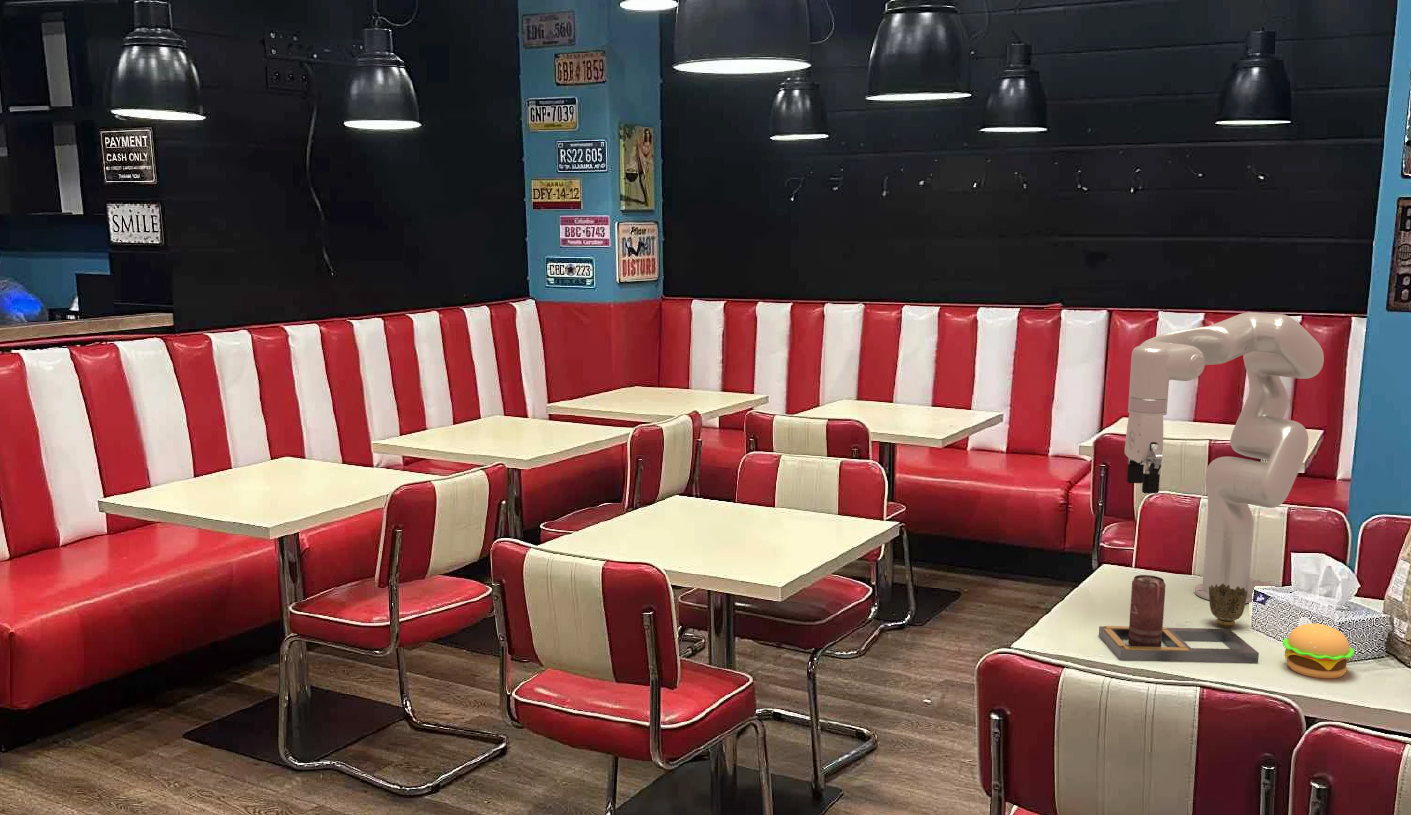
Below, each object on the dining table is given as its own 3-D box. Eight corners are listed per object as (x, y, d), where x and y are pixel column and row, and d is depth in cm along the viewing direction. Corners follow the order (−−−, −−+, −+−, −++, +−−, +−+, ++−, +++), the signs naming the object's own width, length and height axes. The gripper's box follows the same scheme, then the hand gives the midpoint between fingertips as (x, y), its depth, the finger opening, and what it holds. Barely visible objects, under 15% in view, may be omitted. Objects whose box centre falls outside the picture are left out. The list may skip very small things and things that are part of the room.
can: (1144, 654, 235) (1149, 584, 233) (1121, 644, 241) (1125, 575, 239) (1168, 650, 238) (1173, 581, 236) (1145, 640, 244) (1149, 572, 241)
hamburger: (1268, 667, 229) (1272, 623, 228) (1300, 654, 237) (1303, 612, 235) (1333, 687, 220) (1337, 641, 219) (1363, 673, 227) (1368, 628, 226)
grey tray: (1228, 638, 245) (1229, 627, 245) (1258, 663, 231) (1258, 652, 231) (1098, 635, 246) (1099, 625, 246) (1120, 660, 232) (1120, 649, 232)
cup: (1250, 625, 253) (1253, 588, 252) (1237, 634, 248) (1240, 596, 247) (1214, 617, 258) (1216, 581, 257) (1200, 625, 253) (1203, 588, 252)
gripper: (1116, 400, 258) (1111, 479, 261) (1143, 412, 241) (1137, 496, 244) (1151, 400, 258) (1146, 479, 261) (1181, 412, 241) (1175, 497, 244)
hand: (1142, 487), depth 252 cm, fingers open, 9 cm apart
